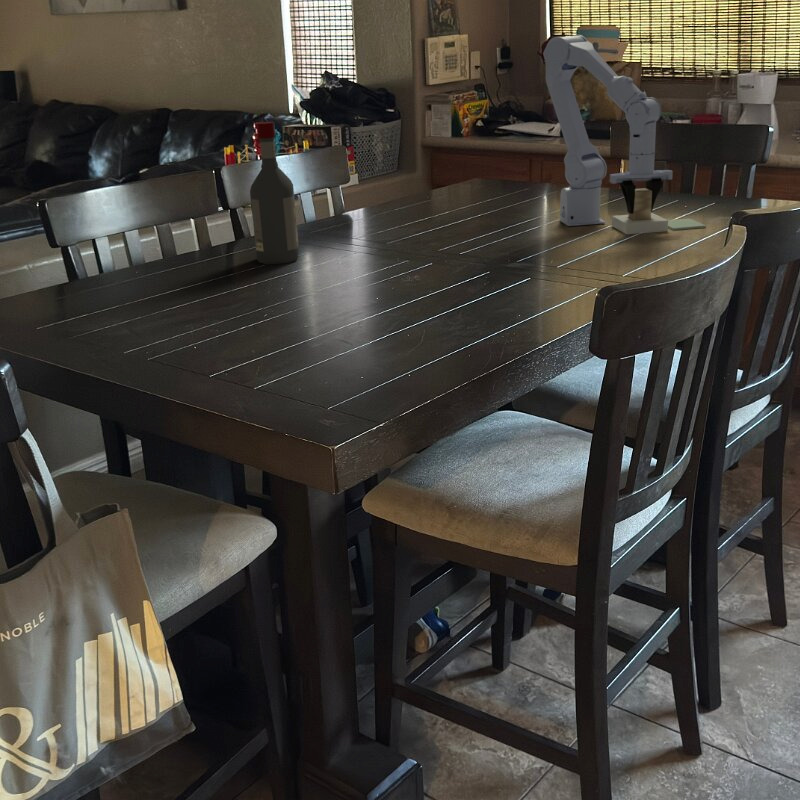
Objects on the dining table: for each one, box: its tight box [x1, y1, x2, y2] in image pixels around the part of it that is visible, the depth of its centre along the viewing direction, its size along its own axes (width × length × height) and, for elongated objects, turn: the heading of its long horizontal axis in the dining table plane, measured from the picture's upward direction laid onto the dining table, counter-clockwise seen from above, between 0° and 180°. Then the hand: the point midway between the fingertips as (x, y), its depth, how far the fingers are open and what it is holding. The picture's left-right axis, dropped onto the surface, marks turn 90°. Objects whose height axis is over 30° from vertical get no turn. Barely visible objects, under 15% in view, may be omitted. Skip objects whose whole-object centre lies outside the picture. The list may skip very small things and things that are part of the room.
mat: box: [667, 218, 707, 231], centre depth 236 cm, size 8×9×1 cm
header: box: [611, 212, 669, 235], centre depth 235 cm, size 10×10×2 cm
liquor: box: [249, 121, 300, 265], centre depth 219 cm, size 9×9×30 cm
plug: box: [628, 187, 652, 221], centre depth 233 cm, size 4×4×9 cm
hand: (639, 212), depth 234 cm, fingers closed on plug, 4 cm apart
